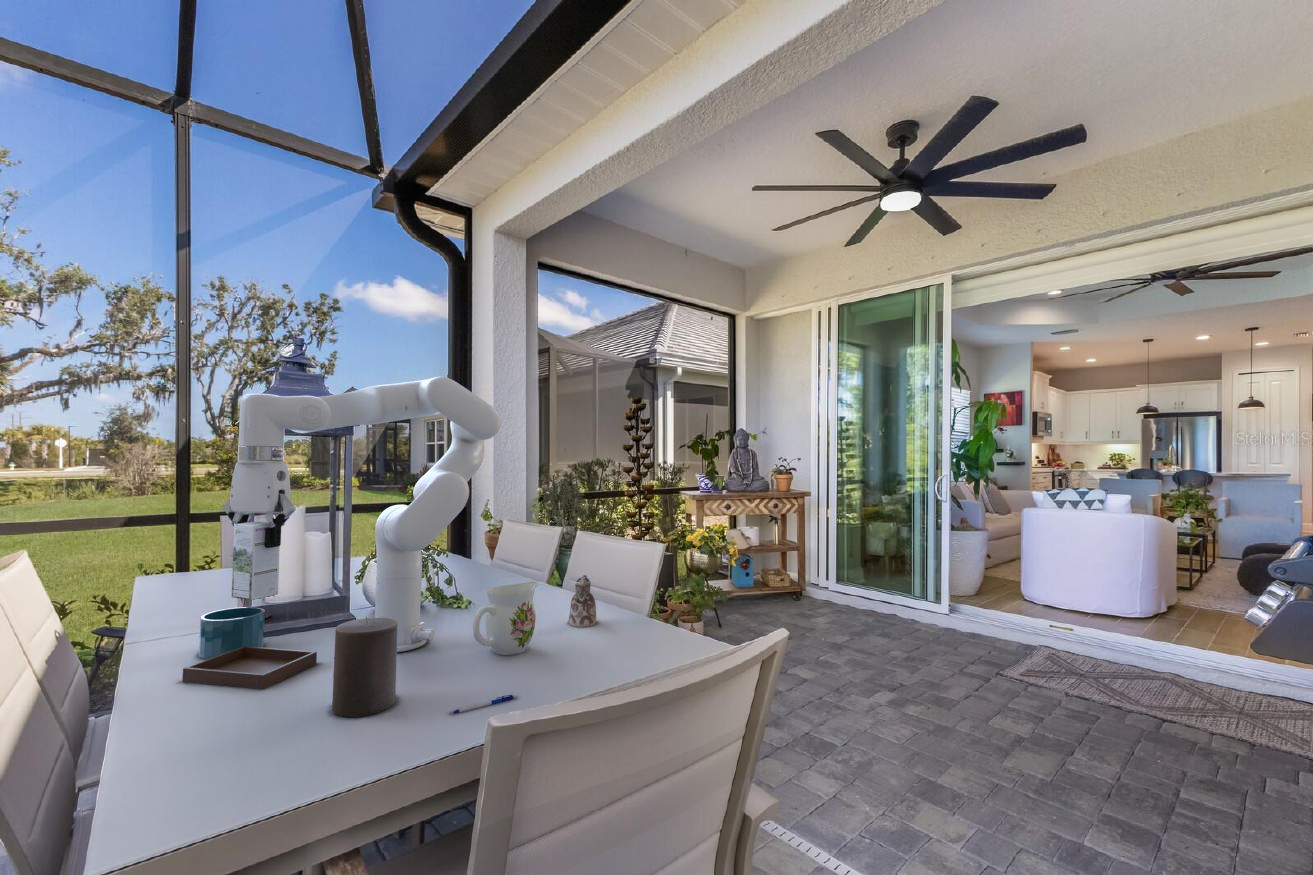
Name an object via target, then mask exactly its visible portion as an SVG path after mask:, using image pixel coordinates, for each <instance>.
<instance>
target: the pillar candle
mask: <svg viewBox="0 0 1313 875" xmlns="http://www.w3.org/2000/svg"><path fill="white" fill-rule="evenodd" d="M397 625H398V624H397V620H395V619H390V618H375V617H367V616H365V618H357V619H352V620H349V621H345V622H343V623H340V624H338V625H337V626H336V627H335V636H334V654H333V655H334V657H333V674H332V675H333V676H332V678H333V680H332V702H331V708H332V709H331V710H332V712H333V714H334V715H336V716H339V717H345V718H347V717H352V718H353V717H354V718H358V717H362V718H363V717H367V716H371V715H375V714H377V713H380V712H383V711H385V710H387V709H389V708H391V707H392V706H393V705H394V703H395V702H396V692H397V690H396V687H397V657H398V656H397V655H398V652H397Z"/></svg>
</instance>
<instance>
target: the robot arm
mask: <svg viewBox="0 0 1313 875" xmlns="http://www.w3.org/2000/svg"><path fill="white" fill-rule="evenodd" d="M436 415H442V416H443V417H444V418H446V419H447V420H449V421H450V422H449V423H450V432H451V444H450V446H449V448H448V449H447V451H446V452H445V453H444V454H443V455H442V457H441V458H440V459H439V460H437V462H436V463H434V464H433V466H432V467H431V468H430V469H429V470H428V471H427V472H426V473H425V474H424V475H422V476H421V477H420V478H419V479H418V481H417V482H416V483H415V485H414V488H413V493H412V494H413V499H414V500H413V501H411V503H410V504H408V505H407V504H395V505H391V506H389V507H387V508H385V509H384V510H383V511H382V512H381V513H380V514H379V516H378V518H377V520H376V523H375V526H374V527H375V528H374V540H375V550H376V570H375V571H376V574H375V595H374V596H375V599H374V618H390V619H395V620H397V624H398V625H397V653H402V652H403V653H404V652H407V651H408V652H409V651H411V650H414V649H418V648H420V647H422V646H424V645H425V644H426V643H427V641H428V642H429V641H430V642H431V641H432V640H434V637H435V629H433V628H425V621H421V606H422V605H421V600H422V599H421V598H422V574H423V555H422V550H423V549H426V548H427V547H428V546H430V545H431V544H432V543H433V542H434V541H435V540H436V539H438V537H439V536H440V535H441V534H442V533H443V531H444V530H445V529H447V527H448V526H449V525H450V524H451V523H452V522H453V520H455V519H456V518H457V516H459V514H460V513H461V512H462V511H463V509H464V508H465V507H466V505H467V502H468V500H469V498H470V497H469V496H470V486H469V484H468V482H469V481H470V480H471V479H472V477H473V476H474V475H475V474H476V473H477V471H478V470H479V469H480V467H481V465H482V463H483V460H484V458H485V441H487V440H489V439H490V440H491V439H492V438H493V437H495V436H496V435H497V434H498V433H499V431H500V429H501V426H502V423H501V422H502V420H501V417H500V414H499V412H498V411H497V410H496V409H495V407H493V405H491V404H489V402H487V401H485V400H484V399H482V398H481V397H479V396H478V395H476V394H475V393H473V392H472V391H470V390H469V389H467V388H466V387H465V386H463V385H461V384H460V383H458V382H457V381H456V380H454V379H452V378H450V377H447V376H435V377H432V378H428V379H420V380H413V381H405V382H396V383H387V384H378V385H372V386H366V387H363V388H360V389H355V390H353V391H349V392H344V393H337V394H330V395H322V396H314V395H287V396H286V395H283V396H281V395H277V394H271V393H256V392H255V393H254V392H253V393H247V394H246V393H245V394H244V395H242V396H241V399H240V404H239V426H238V449H237V462H235V465H234V469H233V474H232V478H231V484H230V494H229V495H230V496H229V499H227V501H225V503H224V504H223V505H222V509H223V510H224V512H225V513H226V514H227V517H228V518H229V520H230V521H231V526H232V527H234V524H240V523H246V522H250V521H251V518H252V515H253V514H264V517H265V519H266V522H267V523H268V526H269V527H267V528H266V529H265V548H272V547H278V546H281V545H282V527H284V526H285V525H286V522H288V520H289V519H290V516H292V515H293V514H294V513H295V511H296V510H297V508H296V506H295V505H294V504H293V502H292V500H291V498H292V497H291V478H290V470H289V466H288V463H287V462H284V458H285V457H287V455H288V454H287V451H286V450H285V431H286V430H290V431H292V432H294V433H298V434H307V433H314V432H320V431H325V430H326V431H327V430H331V429H338V428H339V429H340V428H344V427H353V426H367V425H368V426H369V425H379V424H386V423H390V422H391V423H392V422H398V421H403V420H411V419H416V418H423V417H430V416H436Z"/></svg>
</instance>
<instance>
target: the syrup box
mask: <svg viewBox="0 0 1313 875" xmlns="http://www.w3.org/2000/svg"><path fill="white" fill-rule="evenodd" d="M267 527H269V526H268V523H267V521H249V522H246V523H240V524H234V526H233V543H232V544H233V546H232V570H231V572H232V573H231V575H232V576H231V598H234V599H241V600H242V599H247V600H255V599H261V598H265V597H270V596H274V597H275V596H277V595H279V580H280V578H279V576H280V574H279V572H280V546H281V545H280V546H278V547H272V548H265V529H266V528H267Z"/></svg>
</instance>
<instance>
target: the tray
mask: <svg viewBox="0 0 1313 875" xmlns="http://www.w3.org/2000/svg"><path fill="white" fill-rule="evenodd" d="M317 660H318V651H311V650H300V649H287V648H273V647H264V646H263V647H250V646H243V647H240V648H238V649H235V650H232V651H229V652H227V653H224V654H221V655H218V656H216V657H213V658H210V659H204V660H202V661H199V662H197V663H193V664H191V665H188V666H186V667H183V668H182V680H181V682H183V683H190V684H191V683H192V684H193V683H194V684H204V685H214V686H225V687H235V688H247V689H258V690H264V689H265V688H268V687H270V686H272V685H274V684H277V683H279V682H281V681H283V680H285V679H287V678H289V677H292V676H294V675H297V674H298V673H300V672H303V671H304V670H307V669H308V668H311V667H313V666H315V665H317Z"/></svg>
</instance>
